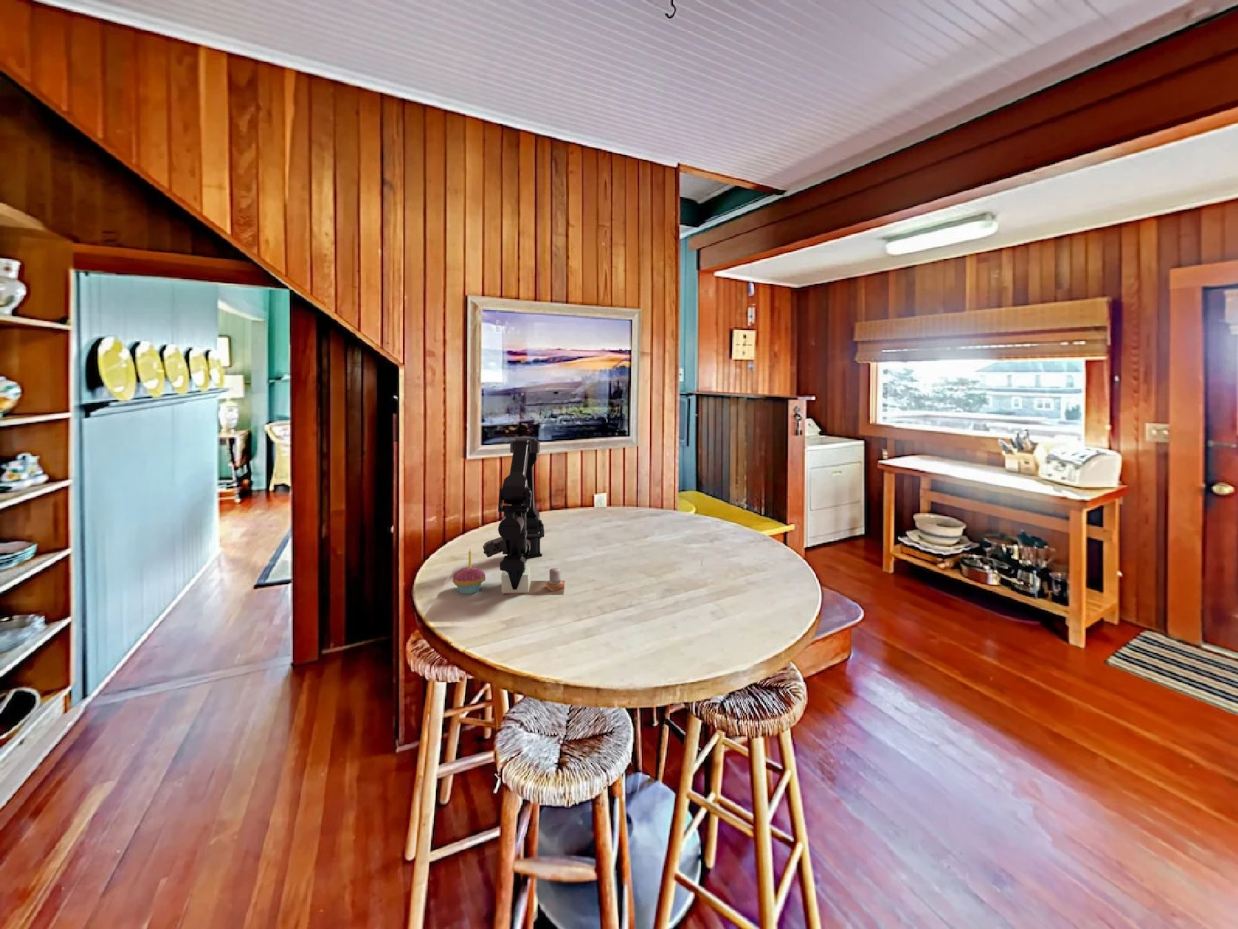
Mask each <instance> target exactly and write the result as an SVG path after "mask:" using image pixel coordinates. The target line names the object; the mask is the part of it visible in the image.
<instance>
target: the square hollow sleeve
mask: <svg viewBox="0 0 1238 929" xmlns="http://www.w3.org/2000/svg"><path fill="white" fill-rule="evenodd" d="M500 576H501V593H502V594H503V593H528V591H529V587H530V583H531V581H532V580H531V578H532V577H531V565H526V566H525V570H524V572H523V575H522V577H521V580H520V582H519V585H518V588H517V589H516V590H513V589H512V585H511V582H510V578H509V575H508V573H507V572H506V571H502V573H501V575H500Z"/></svg>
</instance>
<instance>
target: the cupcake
mask: <svg viewBox="0 0 1238 929" xmlns="http://www.w3.org/2000/svg"><path fill="white" fill-rule="evenodd" d="M485 581H486V574H485V572H484V571H483V570H482V569H481V568H478V567H474V566H472V550H469V551H468V566H465V567H462V568H460V569H458V570H457V571H456V572H454V573H453V576H452V583H453V584H454V585H455V586H456V587H457V590H458V592H459V593H461V594H475V593H476V592H478V591H479V590H480V588H481V585H482V583H483V582H485Z"/></svg>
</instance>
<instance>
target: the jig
mask: <svg viewBox="0 0 1238 929" xmlns="http://www.w3.org/2000/svg"><path fill="white" fill-rule="evenodd" d="M561 579H562V578H561V569H560V568H557V567H553V568H550V569H549V580H531V583H530V587H529V591H528V593H502V596H562V595H563V596H564V595H565V594H564V593H565V585H566V584H565V583H566V580H561Z"/></svg>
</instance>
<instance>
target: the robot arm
mask: <svg viewBox="0 0 1238 929" xmlns="http://www.w3.org/2000/svg"><path fill="white" fill-rule="evenodd" d="M540 449H541V442H540V441H538V440H537V439H536V437H515V439H514V440H510V442H509V453H511V454H512V457H511V464H510V470H509V475H507V476H506V477H505V478H504V479H503V481H502V482H503V483H502V486H501V487H499V496H498V504H497V506H498V507H497V512H501V513H503V516H502V520H500V523H499V524H498V528H497V533H498V534H499V536H500V537H497V538H494V539H491V540H488V541H486V542H485V543H484V544H483V546H482V548H483V554H484V555H485V556H486V558H491V557H492V556H495V555H497V554H500V553H502V555H504V556H503V557H502V558H500V562H499V571H502V572H503V571H506V572H507V573H508V575H509V578H510V582H511V585H512V589H513V590H516V589H517V588H518V585H519V582H520V580H521V577H522V575H523V572H524V570H525V566H527V565H526V563H527V560H528V559H529V558H536V557H542V556H543V554H542V553H541V539H543V538H544V537H545V525H544V522H543V520H542V519H541V516H540V515H541V514H540V512H539V510H538V509H537V508H536V506H535V485H534V484H535V481H534V480H535V479H534V478H535V477H534V465H535V464H536V462H537V460H538V456H539V454H540V451H541V450H540Z"/></svg>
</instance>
